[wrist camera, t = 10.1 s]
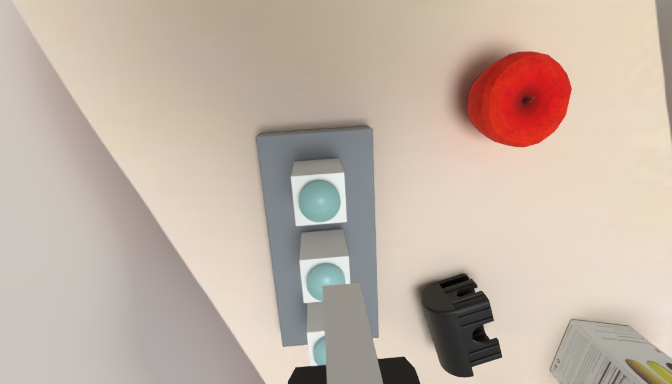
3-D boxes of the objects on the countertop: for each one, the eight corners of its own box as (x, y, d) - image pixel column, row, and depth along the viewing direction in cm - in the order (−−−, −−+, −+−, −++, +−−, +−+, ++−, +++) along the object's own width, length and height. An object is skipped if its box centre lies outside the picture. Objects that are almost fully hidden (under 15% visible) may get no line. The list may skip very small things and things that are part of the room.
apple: (541, 111, 39) (595, 117, 32) (473, 153, 40) (510, 168, 33) (510, 39, 37) (560, 27, 29) (438, 85, 38) (470, 85, 30)
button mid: (301, 232, 38) (299, 264, 31) (343, 229, 38) (349, 260, 31) (305, 269, 39) (303, 308, 32) (345, 266, 40) (352, 303, 33)
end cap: (413, 285, 45) (430, 319, 39) (465, 268, 45) (491, 299, 38) (431, 344, 48) (449, 384, 42) (480, 329, 48) (506, 366, 41)
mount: (260, 133, 38) (246, 144, 30) (368, 125, 39) (381, 135, 31) (284, 330, 46) (279, 379, 38) (374, 322, 46) (386, 368, 39)
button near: (294, 161, 36) (290, 178, 29) (338, 158, 36) (345, 174, 29) (298, 203, 37) (295, 229, 30) (341, 200, 37) (347, 225, 30)
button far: (307, 295, 40) (306, 338, 33) (346, 292, 40) (353, 333, 34) (310, 328, 42) (310, 376, 35) (348, 324, 42) (355, 371, 35)
